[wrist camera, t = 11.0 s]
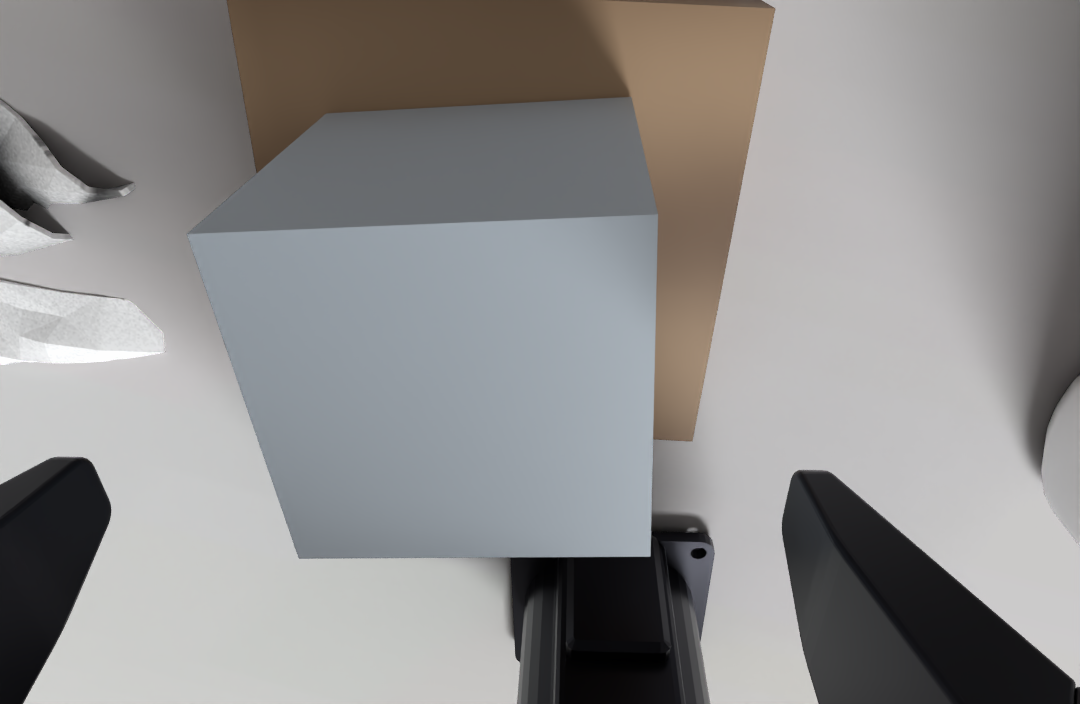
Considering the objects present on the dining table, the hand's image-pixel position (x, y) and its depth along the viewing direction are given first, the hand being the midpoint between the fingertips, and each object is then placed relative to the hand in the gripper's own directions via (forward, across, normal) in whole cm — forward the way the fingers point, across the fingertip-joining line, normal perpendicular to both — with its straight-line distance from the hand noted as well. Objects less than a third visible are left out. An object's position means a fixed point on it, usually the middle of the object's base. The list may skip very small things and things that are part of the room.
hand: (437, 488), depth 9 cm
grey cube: (+8, 0, 0) cm, 8 cm away
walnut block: (+11, 0, 0) cm, 11 cm away
